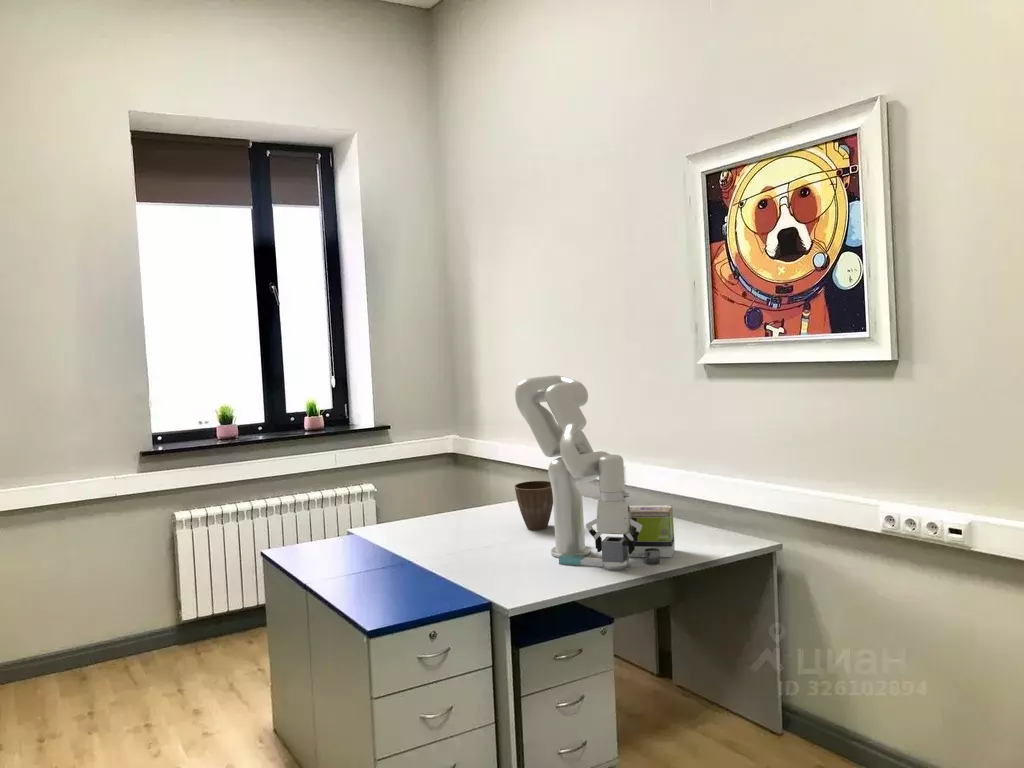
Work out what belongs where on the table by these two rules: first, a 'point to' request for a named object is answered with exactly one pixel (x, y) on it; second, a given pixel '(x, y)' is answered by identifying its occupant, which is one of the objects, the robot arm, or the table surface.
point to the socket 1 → (614, 549)
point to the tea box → (653, 529)
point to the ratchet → (592, 562)
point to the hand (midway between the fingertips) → (615, 551)
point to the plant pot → (535, 503)
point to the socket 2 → (652, 556)
